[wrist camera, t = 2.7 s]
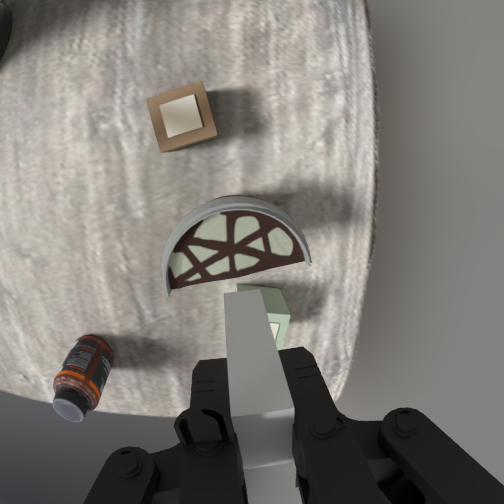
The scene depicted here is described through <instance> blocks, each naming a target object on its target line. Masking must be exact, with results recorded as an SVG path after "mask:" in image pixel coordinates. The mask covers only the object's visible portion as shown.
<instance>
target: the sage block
mask: <svg viewBox="0 0 504 504" xmlns="http://www.w3.org/2000/svg"><path fill="white" fill-rule="evenodd" d="M256 289H260V291H261V295H262V298H263V302H264V305H265V309H266V312H267V316H268V319H269V322H270V326H271V329H272V333H273V336H274V340H275V343H276V346H277V350H281V349H282V345H283V342H284V338H285V335H286V331H287V328H288V324H289V320H290V317H291V314H290V312H289V309H288V307H287V305H286V302H285V300H284V298H283V296H282V293H281V291H280V289H279V288H270V287H261V286H252V285H244V284H236V288H235V292H239V291H248V290H256Z"/></svg>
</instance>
